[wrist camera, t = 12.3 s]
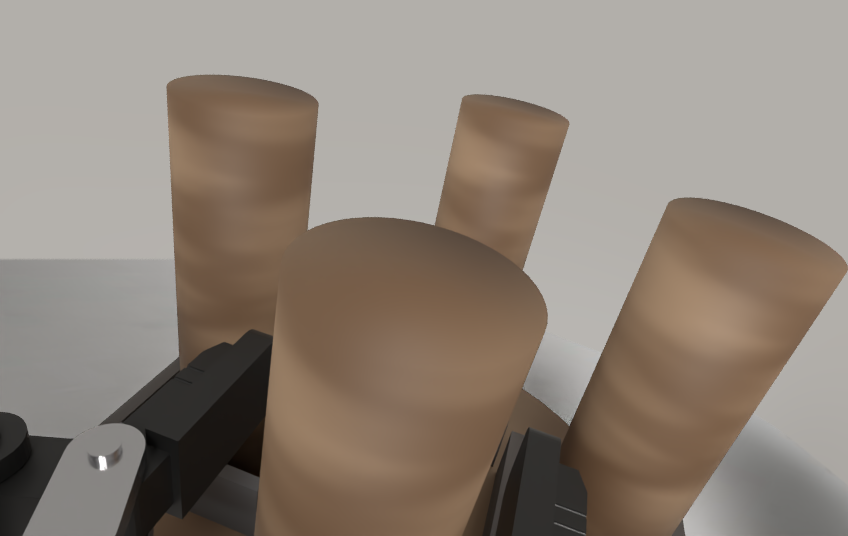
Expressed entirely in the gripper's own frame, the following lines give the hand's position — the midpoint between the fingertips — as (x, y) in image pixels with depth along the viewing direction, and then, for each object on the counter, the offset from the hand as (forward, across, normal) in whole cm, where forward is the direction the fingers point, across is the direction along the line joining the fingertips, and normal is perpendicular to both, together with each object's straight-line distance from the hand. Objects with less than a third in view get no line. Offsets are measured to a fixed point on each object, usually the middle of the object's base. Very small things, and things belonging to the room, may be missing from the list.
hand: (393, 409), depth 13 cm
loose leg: (-3, 0, +9) cm, 9 cm away
